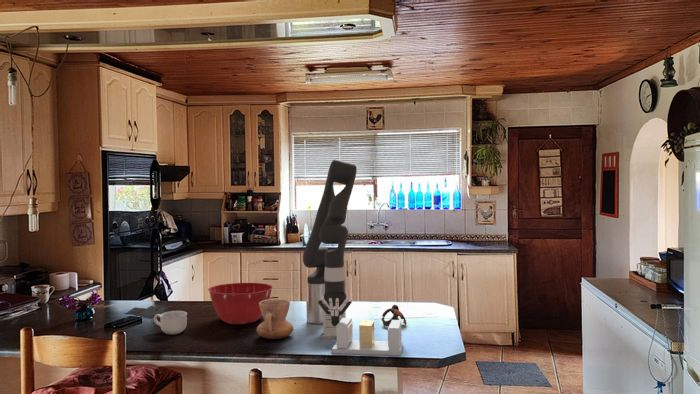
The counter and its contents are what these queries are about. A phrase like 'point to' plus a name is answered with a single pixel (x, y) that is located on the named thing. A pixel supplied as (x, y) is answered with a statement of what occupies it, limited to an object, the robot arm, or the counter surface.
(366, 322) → the block
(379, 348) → the vise
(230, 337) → the counter surface
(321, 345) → the counter surface
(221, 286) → the mixing bowl
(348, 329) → the jaw
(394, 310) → the dark brown curved loop
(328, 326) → the supplement box
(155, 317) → the teacup
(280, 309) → the ceramic jug
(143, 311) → the dark slate chunk
